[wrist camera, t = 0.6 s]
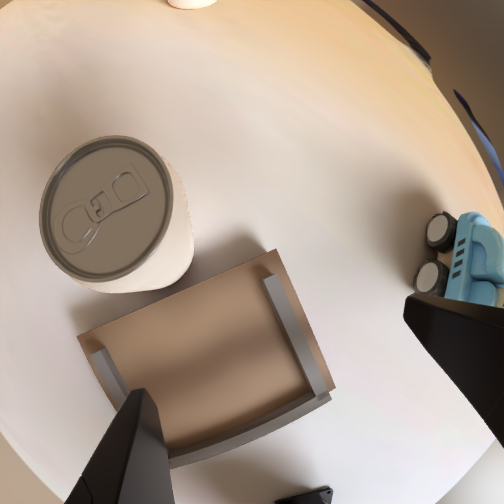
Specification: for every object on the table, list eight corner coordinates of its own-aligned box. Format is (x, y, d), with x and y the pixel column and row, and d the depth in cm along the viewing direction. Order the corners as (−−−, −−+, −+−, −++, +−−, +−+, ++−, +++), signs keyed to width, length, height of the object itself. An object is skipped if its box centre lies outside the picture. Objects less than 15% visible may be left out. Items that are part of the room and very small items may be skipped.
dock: (323, 378, 21) (343, 392, 18) (158, 449, 18) (153, 473, 14) (267, 252, 22) (280, 246, 18) (89, 331, 18) (69, 339, 15)
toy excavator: (387, 358, 23) (539, 400, 6) (426, 208, 26) (552, 161, 9) (434, 371, 24) (554, 401, 7) (465, 241, 27) (574, 216, 10)
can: (101, 237, 19) (14, 191, 8) (165, 191, 21) (135, 99, 9) (144, 305, 20) (77, 330, 8) (211, 257, 21) (222, 223, 9)
